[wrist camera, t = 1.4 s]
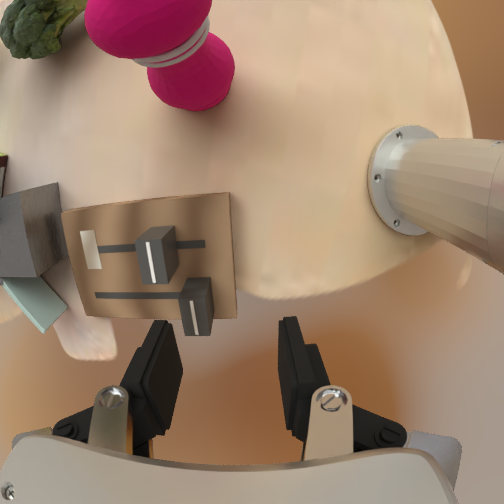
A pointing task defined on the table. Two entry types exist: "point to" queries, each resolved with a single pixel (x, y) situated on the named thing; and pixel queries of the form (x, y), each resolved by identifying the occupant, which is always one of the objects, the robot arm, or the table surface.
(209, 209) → the fader board
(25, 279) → the door
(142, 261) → the fader knob
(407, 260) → the table surface
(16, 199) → the box
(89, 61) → the table surface
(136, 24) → the pepper mill
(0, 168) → the protein box
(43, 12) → the vegetable
